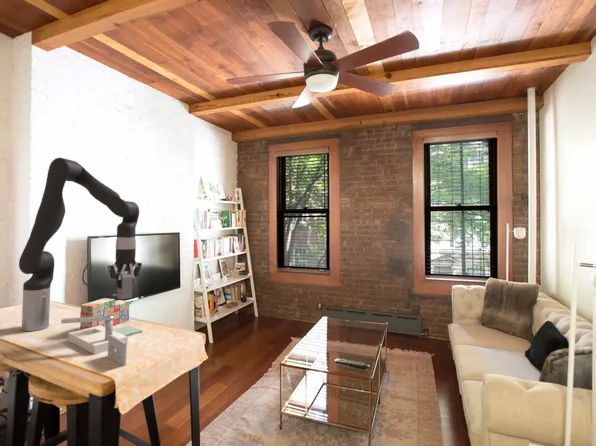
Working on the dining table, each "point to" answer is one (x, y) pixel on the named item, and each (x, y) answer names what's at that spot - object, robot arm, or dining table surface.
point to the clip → (87, 319)
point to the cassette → (117, 350)
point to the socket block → (95, 337)
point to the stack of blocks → (104, 312)
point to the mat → (128, 330)
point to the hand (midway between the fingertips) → (124, 287)
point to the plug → (125, 286)
